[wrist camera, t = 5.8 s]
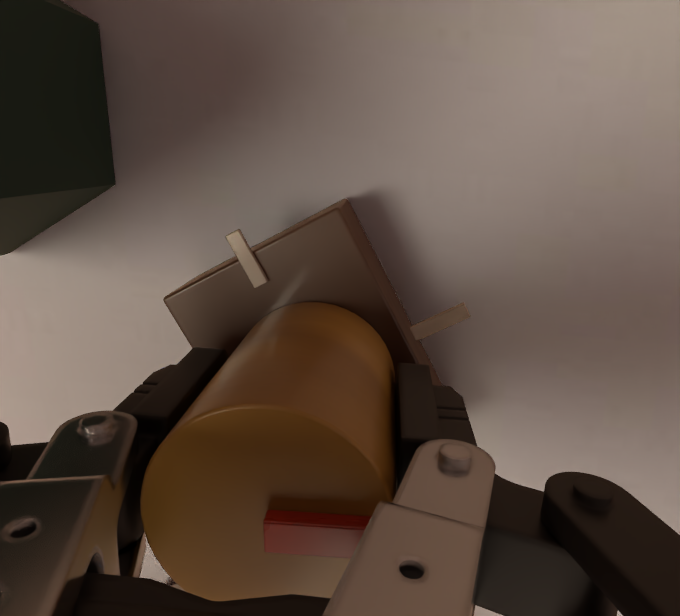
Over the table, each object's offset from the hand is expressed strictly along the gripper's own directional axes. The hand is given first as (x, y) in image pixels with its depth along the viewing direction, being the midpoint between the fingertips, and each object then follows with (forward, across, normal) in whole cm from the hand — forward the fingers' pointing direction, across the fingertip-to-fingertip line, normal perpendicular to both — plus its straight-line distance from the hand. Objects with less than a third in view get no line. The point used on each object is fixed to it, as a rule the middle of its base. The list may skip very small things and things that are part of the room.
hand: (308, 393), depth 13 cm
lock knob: (+1, 0, 0) cm, 1 cm away
